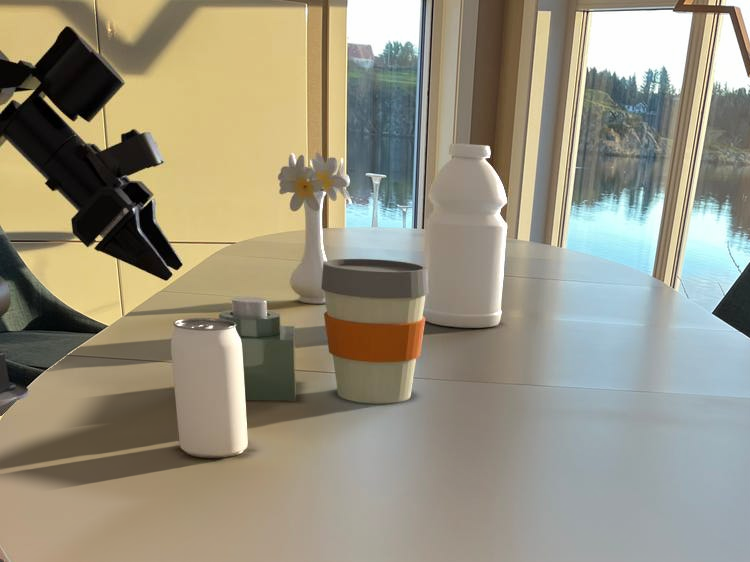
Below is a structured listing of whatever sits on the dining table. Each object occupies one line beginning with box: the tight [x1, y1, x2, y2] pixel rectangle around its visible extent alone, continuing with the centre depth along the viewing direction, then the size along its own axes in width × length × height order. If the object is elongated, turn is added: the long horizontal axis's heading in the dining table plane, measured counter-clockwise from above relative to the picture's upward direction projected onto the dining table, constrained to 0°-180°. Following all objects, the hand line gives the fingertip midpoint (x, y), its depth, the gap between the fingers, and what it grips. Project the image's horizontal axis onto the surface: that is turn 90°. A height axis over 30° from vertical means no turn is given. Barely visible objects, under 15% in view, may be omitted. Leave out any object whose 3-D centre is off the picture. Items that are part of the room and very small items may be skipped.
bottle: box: [422, 142, 508, 329], centre depth 161 cm, size 14×14×28 cm
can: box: [170, 317, 249, 459], centre depth 90 cm, size 6×6×12 cm
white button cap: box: [231, 296, 268, 318], centre depth 110 cm, size 4×4×2 cm
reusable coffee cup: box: [321, 258, 428, 405], centre depth 113 cm, size 13×13×15 cm
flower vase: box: [277, 152, 352, 305], centre depth 172 cm, size 13×18×25 cm
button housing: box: [218, 309, 297, 402], centre depth 112 cm, size 10×9×9 cm
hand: (175, 272), depth 107 cm, fingers open, 9 cm apart
